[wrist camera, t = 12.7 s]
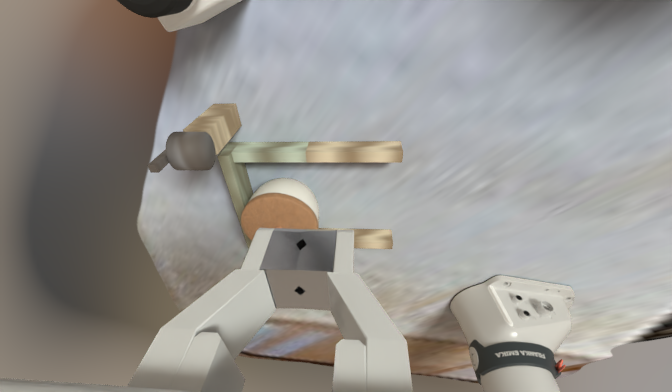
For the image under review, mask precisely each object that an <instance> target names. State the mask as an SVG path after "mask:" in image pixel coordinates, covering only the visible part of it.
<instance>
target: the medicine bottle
mask: <svg viewBox="0 0 672 392" xmlns="http://www.w3.org/2000/svg"><path fill="white" fill-rule="evenodd" d="M117 1H119V2H120V3H121V4H122V5H123V6H125V7H126V8H127V9H129V10H131V11H132V12H134V13H136V14H138V15H141V16H144V17H150V18H155V17H157V18H158V19H159V21H160V22H161V24H162V25H163V27H164V28H165V30H166V31H168V32H172V31H176V30H180V29H183V28H187V27H190V26H194V25H197V24H201V23H204V22H205V21H207V20H209V19H211V18H212V17H214V16H216V15H218V14H219V13H221V12H223V11H224V10H226V9H228V8H230V7H231V6H233V5H235V4H237V3H238V2H240V1H242V0H117Z"/></svg>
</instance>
